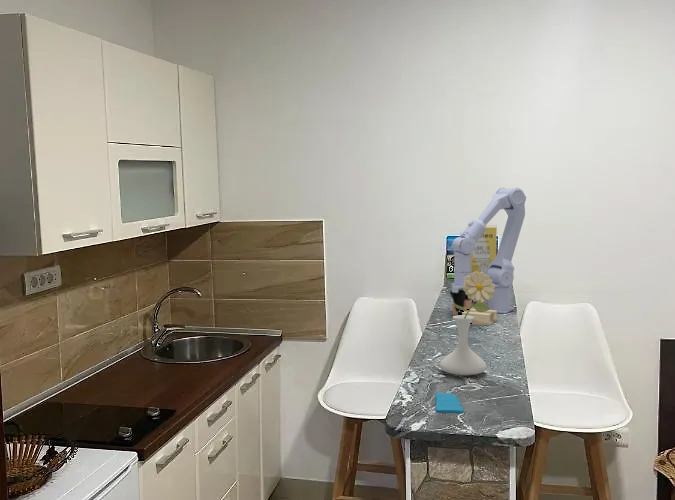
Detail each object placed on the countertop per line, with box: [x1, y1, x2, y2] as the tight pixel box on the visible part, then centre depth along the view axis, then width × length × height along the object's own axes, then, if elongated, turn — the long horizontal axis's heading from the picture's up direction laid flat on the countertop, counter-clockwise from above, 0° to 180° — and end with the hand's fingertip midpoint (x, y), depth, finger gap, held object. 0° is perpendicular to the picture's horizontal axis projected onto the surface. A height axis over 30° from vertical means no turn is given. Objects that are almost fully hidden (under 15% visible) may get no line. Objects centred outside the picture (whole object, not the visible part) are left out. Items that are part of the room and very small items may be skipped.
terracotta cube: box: [452, 299, 472, 316], centre depth 248 cm, size 5×5×5 cm
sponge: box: [435, 392, 465, 414], centre depth 149 cm, size 2×12×6 cm
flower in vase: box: [438, 271, 495, 376], centre depth 171 cm, size 13×11×25 cm
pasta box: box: [471, 224, 498, 274], centre depth 289 cm, size 18×10×28 cm, turn 167°
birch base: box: [462, 307, 498, 327], centre depth 234 cm, size 9×9×4 cm
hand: (462, 310), depth 248 cm, fingers closed on terracotta cube, 5 cm apart
